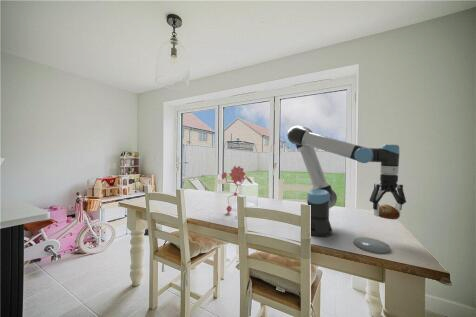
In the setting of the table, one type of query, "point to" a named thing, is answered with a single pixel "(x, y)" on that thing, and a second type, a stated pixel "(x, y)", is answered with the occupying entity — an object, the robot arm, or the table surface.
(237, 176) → the red flower ornament
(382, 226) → the table surface
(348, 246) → the table surface
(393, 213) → the bread roll
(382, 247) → the plate
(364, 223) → the table surface
